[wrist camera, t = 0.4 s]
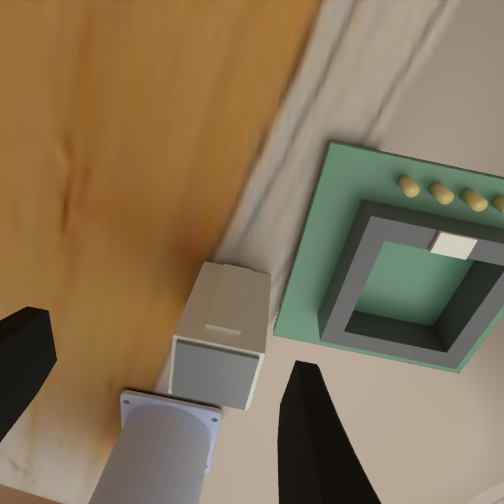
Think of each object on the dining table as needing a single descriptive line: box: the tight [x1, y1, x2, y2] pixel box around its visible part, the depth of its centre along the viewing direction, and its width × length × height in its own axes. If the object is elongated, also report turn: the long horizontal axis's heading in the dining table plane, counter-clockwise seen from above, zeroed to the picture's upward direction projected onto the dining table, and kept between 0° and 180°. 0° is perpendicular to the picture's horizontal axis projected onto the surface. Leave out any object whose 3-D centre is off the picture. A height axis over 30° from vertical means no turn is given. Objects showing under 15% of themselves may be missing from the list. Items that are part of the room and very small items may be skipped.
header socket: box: [273, 140, 504, 373], centre depth 17 cm, size 12×12×3 cm
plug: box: [168, 261, 271, 410], centre depth 18 cm, size 4×4×6 cm
